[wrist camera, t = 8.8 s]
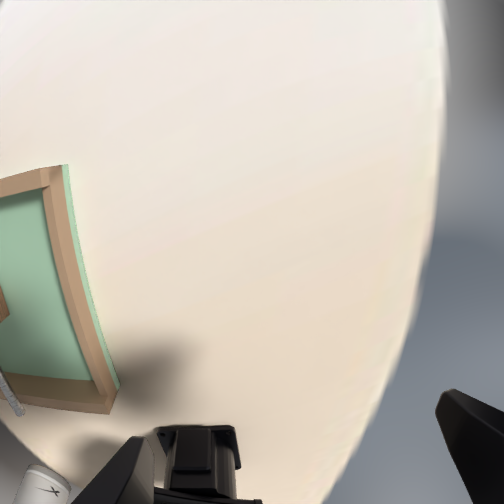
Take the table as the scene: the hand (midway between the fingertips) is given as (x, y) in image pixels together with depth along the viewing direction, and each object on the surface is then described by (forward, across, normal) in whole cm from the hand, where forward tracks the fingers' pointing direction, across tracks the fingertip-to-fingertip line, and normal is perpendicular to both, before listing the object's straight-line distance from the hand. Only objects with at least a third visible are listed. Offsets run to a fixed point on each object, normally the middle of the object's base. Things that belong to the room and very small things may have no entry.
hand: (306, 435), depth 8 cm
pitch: (+12, +18, 0) cm, 22 cm away
